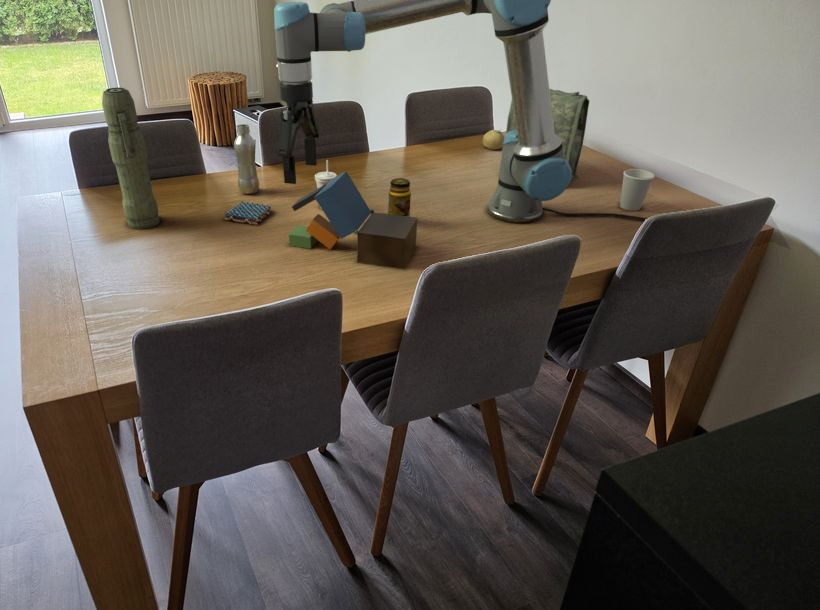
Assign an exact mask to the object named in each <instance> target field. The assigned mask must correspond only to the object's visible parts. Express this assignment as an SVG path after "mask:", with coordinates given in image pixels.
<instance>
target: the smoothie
mask: <svg viewBox="0 0 820 610" xmlns="http://www.w3.org/2000/svg"><path fill="white" fill-rule="evenodd" d="M325 161H326V163H325V164H326V166H325V167H326V171H320V172H317V173H315V174H314V180H315V183H316V189H318V188H319V187H321V186H323V185H325V184H326V185H327V184H328V183H329V182H330V181H331V180H332V179H334V178H336V177H337V176H338V175H337V174H336V173H335V172H333V171H329V170H330V169H329V168H330V167H329V159H326V160H325ZM319 207H320V206H319ZM320 209H321V210H322V208H321V207H320Z"/></svg>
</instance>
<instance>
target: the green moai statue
mask: <svg viewBox="0 0 820 610" xmlns="http://www.w3.org/2000/svg"><path fill="white" fill-rule="evenodd" d="M101 99H102V100H101V105H102V110H103V115H104V119H105V123H106V125H107V127H108V128H107V132H108V137H107V142H108V143H107V144H108V147H109V151H110V156H111V160H112V163H113V164H114V166H115V170H116V173H117V178H118V182H119V187H120V190H121V195H122V200H121V201H122V209H123V214H124V217H125V218H126V223H127V226H128V227H129V228H131V229H134V230H145V229H149V228H153V227H155V226H157V225H158V224H160V221H161V220H160V216H159V206H158V202H157V200H156V198H155V197H154V191H153V186H152V182H151V177H150V172H149V171H150V170H149V167H148V162H147V161H148V157H149V156H148V153H147V152H148V151H147V147H146V143H145V138H144V136H143V134H142V132H141V130H140V126H139V123H138V121H139V119H138V115H137V110H136V104H135V100H134V98H133V97H132V95H131V92H130V91H129V89H127V88H125V87H111V88H106V89H105V90H103V91H102V97H101Z"/></svg>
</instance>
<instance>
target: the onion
mask: <svg viewBox="0 0 820 610" xmlns="http://www.w3.org/2000/svg"><path fill="white" fill-rule="evenodd" d="M504 138H505V135H504V133H502V129H501V128H500V130H497V129H491V130H489V131H488V132H486V133H485V134H484V135H483V137H482V145H483V147H484V148H486V149H488V150H492V151H493V150H500V149H501V148H503V143H504Z"/></svg>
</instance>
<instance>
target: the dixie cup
mask: <svg viewBox="0 0 820 610" xmlns="http://www.w3.org/2000/svg"><path fill="white" fill-rule="evenodd" d="M622 174H623V178H622V179H623V180H622V187H621V194H620V195H621V196H620V202H619V207H620V208H621V209H623V210H625V211H631V212H634V211H635V212H636V211H640V210H641V208H642V206H643V203H644V201H645V198H646V197H647V194H648V192H649V189H650V187H651V185H652V182H653V180H654V178H655V177H656V176H655V173H653V172H651V171H649V170H646V169H641V168H639V169H638V168H629V169H626V170H624V171H623V173H622Z"/></svg>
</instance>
